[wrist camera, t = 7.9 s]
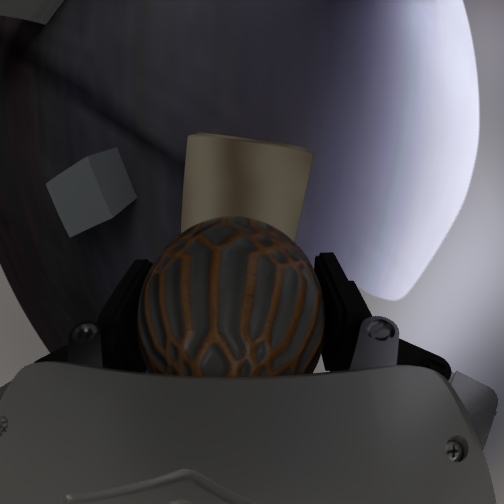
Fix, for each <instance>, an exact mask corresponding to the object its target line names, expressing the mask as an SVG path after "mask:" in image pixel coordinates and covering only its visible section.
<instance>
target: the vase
mask: <svg viewBox="0 0 504 504" xmlns="http://www.w3.org/2000/svg"><path fill="white" fill-rule="evenodd" d="M325 328H326V310H325V301H324V296H323V292H322V289H321V286H320V282H319V280H318V278H317V275H316V273H315V271H314V269H313V267H312V265H311V263H310V261H309V260H308V258H307V256H306V255H305V254H304V252H303V251H302V250H301V249H300V247H299V246H298V245H297V244H296V243H295V242H294V241H293V240H292V239H291V238H289V237H288V236H287V235H286V234H284V233H283V232H282V231H280V230H278V229H277V228H275V227H273V226H271V225H269V224H267V223H265V222H262V221H259V220H256V219H252V218H247V217H239V216H226V217H218V218H213V219H210V220H206V221H203V222H201V223H198V224H196V225H194V226H192V227H190V228H188V229H187V230H185V231H184V232H182V233H181V234H179V235H178V236H177V237H175V238H174V239H173V240H172V241H171V242H170V243H169V244H168V245H167V246H166V247H165V248H164V250H163V251H162V252H161V253H160V255H159V256H158V257H157V259H156V260H155V262H154V263H153V265H152V267H151V268H150V270H149V272H148V274H147V276H146V278H145V281H144V283H143V287H142V290H141V293H140V298H139V303H138V312H137V335H138V342H139V347H140V351H141V354H142V357H143V360H144V362H145V364H146V367H147V369H148V371H149V373H151V374H163V375H177V376H196V377H268V376H287V375H301V374H312V373H313V371H314V369H315V368H316V366H317V363H318V360H319V358H320V355H321V352H322V348H323V343H324V337H325Z"/></svg>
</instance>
